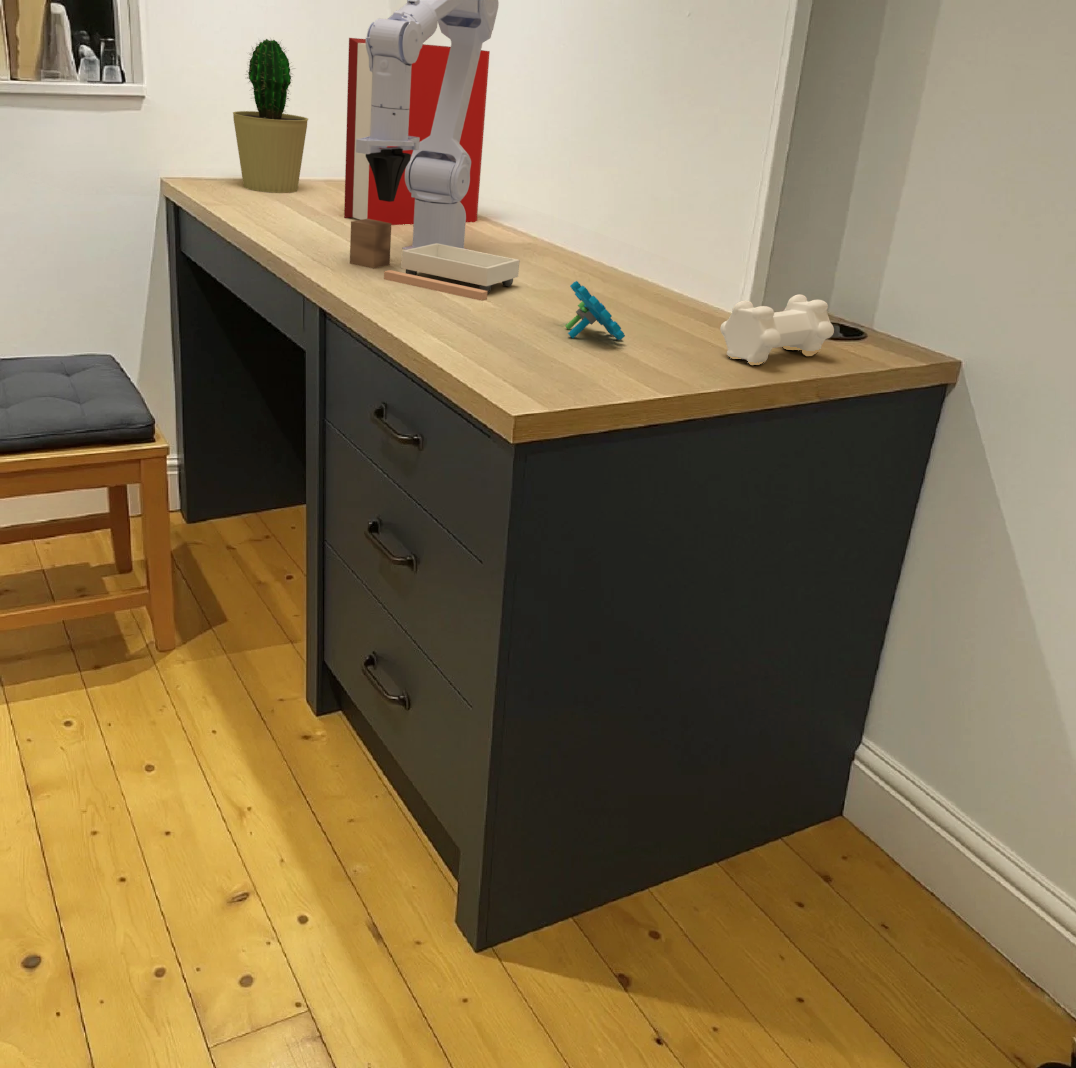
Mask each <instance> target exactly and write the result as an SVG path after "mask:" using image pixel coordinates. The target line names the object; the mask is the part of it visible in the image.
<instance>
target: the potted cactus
mask: <svg viewBox="0 0 1076 1068" xmlns="http://www.w3.org/2000/svg"><path fill="white" fill-rule="evenodd" d="M269 38H270V39H268V38H265V39H263V38H262V39H260V38H258V42H259V43H258V42H257V41H256V42H255V44H256V45H255V47H254V46H251V51H252V52H247V54H248V55H250V56H251V57H250V56H249V57H247V58H248V60H249V61H247V63H249V64H248V71H247V73H246V74H244V75H246V76H247V75H248V77H246V80H247V79H248V80H249V81H247V84H251V85H252V88H251V89H250V91H252V92H251V93H253V94H250V95H251V96H252V95H254V96H253V99H254V104H255V105H256V110H257V111H256V110H255V111H253V110H247V111H245V110H239V111H233V112H232V115H233V117H232V118H233V124H234V130H235V131H234V132H235V136H236V144H237V151H238V157H239V164H240V171H241V179H242V184H243V187H244V188H245V189H247V190H251V191H255V192H263V193H272V194H273V193H275V194H288V193H289V194H290V193H295V192H298V190H299V182H300V175H301V168H302V163H303V156H304V149H305V141H306V136H307V129H308V122H309V118H308V117H305V116H301V115H296V114H295V115H294V114H289V113H286V112H285V108H286V107H288V104H287V100H288V101H289V102H291V100H292V99H291V98H290V99H289V97H288V95H290V93H291V92H290V90H289V86H291V83H292V78H294V75H293V76H291V75H292V74H291V68H292V67H293V65H292V66H290V64H291V63H293V62H291V61H290V59H289V57H287V55H286V53H287V52H288V51H290V50H288V49H286V48H285V46H284V45H283V44H282V42H281V41H282V40H283V39H281V41H276V40H275V39H274V37H273V39H272V38H271V37H269ZM282 45H283V47H282ZM295 69H296V68H293V70H295ZM249 99H252V97H250V98H249Z"/></svg>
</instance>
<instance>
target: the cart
mask: <svg viewBox="0 0 1076 1068" xmlns="http://www.w3.org/2000/svg"><path fill="white" fill-rule="evenodd" d="M400 256H401V260H400V261H401V262H400V268H401V269H404V270H405V273H406V274H411V275H416V276H418V273H423V274H426V275H431V276H436V277H437V276H438V277H440V278H446V279H450V280H456V281H460V282H465V283H468V284H469V283H470V284H473V285H474V284H475V285H478V286H479V288H478V289H480V290H485V291H488V292H487V295H488V294H489V293H490V292H491V289H492V286H493V285H496V284H499V283H501V284H502V286H505V287H507V288H508V287H509V288H511V286H512V285H513V282H514V279H515V278H518V277H519V271H520V262H521V261H520V259H517V258H512V257H507V256H502V255H497V254H492V253H486V252H481V251H477V250H473V249H468V248H465V249H463V248H458V247H453V246H448V245H443V244H438V243H435V244H431V245H426V246H421V247H417V248H412V249H407V250H405V249H402V250H401V255H400Z"/></svg>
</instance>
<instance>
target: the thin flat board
mask: <svg viewBox="0 0 1076 1068" xmlns="http://www.w3.org/2000/svg"><path fill="white" fill-rule="evenodd" d="M383 280H387V281H391V282H396V283H400V284H405V285H410V286H413V287H419V288H422V289H427V290H431V291H435V292H436V291H437V292H441V293H446V294H451V295H456V296H459V297H462V298H463V297H464V298H469V299H473V300H477V301H484V300H487V299H488V294H487V292H488V291H485V290H480V289H479V288H475V287H470V286H466V285H460V284H456V283H451V282H447V281H442V280H438V279H433V278H429V277H424V276H420V275H419V276H418V275H411V274H406V272H402V271H397V270H391V269H389V270H385V271H384V272H383Z"/></svg>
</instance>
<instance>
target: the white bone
mask: <svg viewBox="0 0 1076 1068" xmlns="http://www.w3.org/2000/svg"><path fill="white" fill-rule="evenodd" d="M828 309H829V305H828V303H827V302H826V301H824V299H813V300H810V301H809V300H808V297H806V296H805V295H804V294H799V293H798V294H796V295H793V296H791V297H790V298H789V299H788V301H787V304H786V306H785V308H784V310H783V311H774V309H773V308H772V307H770V306H766V305H761V306H757V307H755V306H754V305H753V303H752V302H751V301H749V300H741V301H739V302H737V303H735V304H734V305H733V308H732V311H731V314H730V315H729V318H728V319H727V320H725V321H724V322H722V323H721V325H720V333H721V335H722V336H723V338H724V342H725V345H726V348H727V351H726V356H727V355H728V356H731V357H738V358H741V359H742V360H746V361H748V362H754V363H757V362H758V363H759V362H764V361H765V362H767V360H768V358H769V354H770V353H771V351H772V349H775V348H782V347H783V346H790V347H797V348H800V349H802V350H806V351H815V350H819V349H822V346H823V344H824V342H825V341H826V339H830V338H832V337H833V335H834V333H835V332H834V331H835V328H834V326H833V323H831V321H830V318H829V313H828V311H827V310H828ZM728 356H727V357H728ZM748 362H747V363H748ZM765 362H764V363H765Z"/></svg>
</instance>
